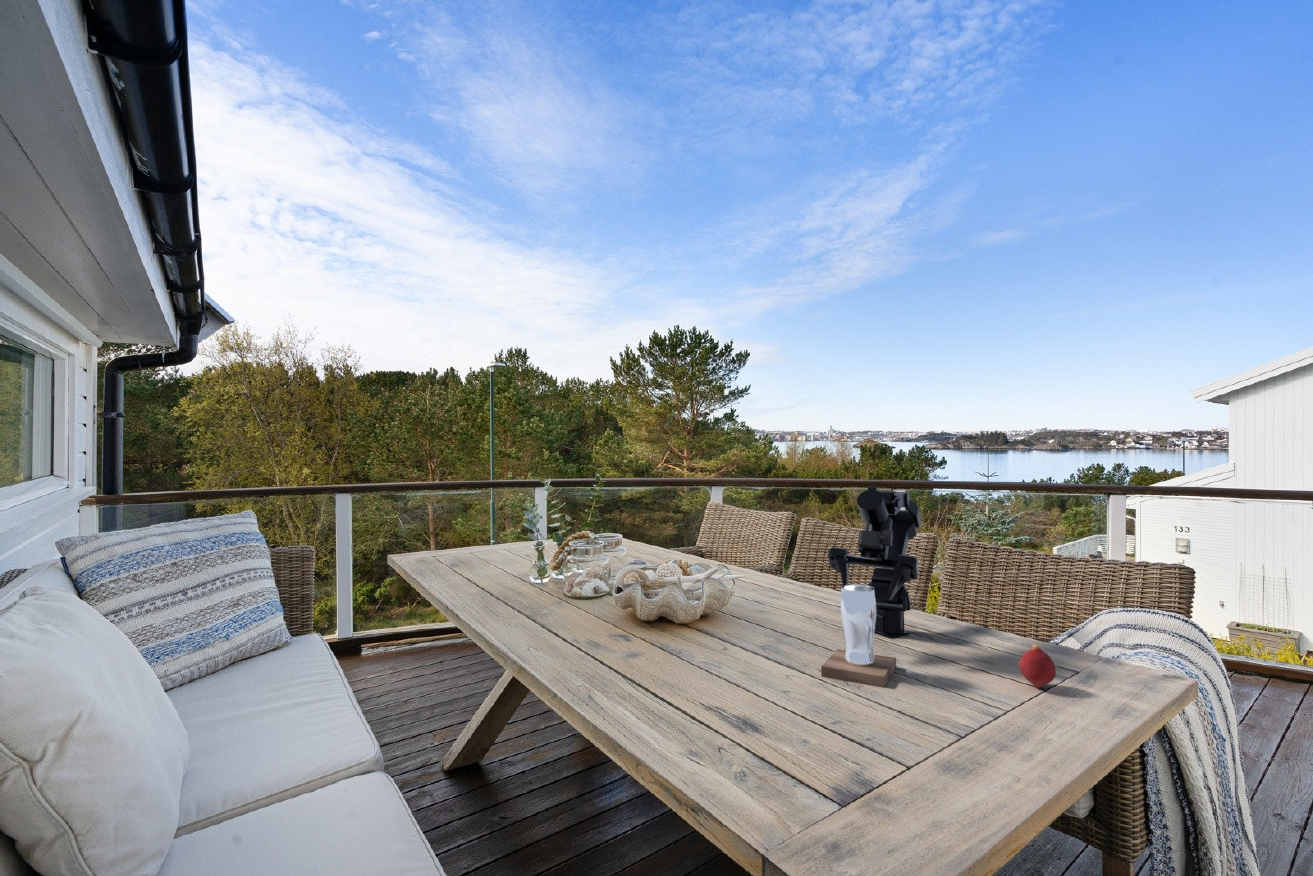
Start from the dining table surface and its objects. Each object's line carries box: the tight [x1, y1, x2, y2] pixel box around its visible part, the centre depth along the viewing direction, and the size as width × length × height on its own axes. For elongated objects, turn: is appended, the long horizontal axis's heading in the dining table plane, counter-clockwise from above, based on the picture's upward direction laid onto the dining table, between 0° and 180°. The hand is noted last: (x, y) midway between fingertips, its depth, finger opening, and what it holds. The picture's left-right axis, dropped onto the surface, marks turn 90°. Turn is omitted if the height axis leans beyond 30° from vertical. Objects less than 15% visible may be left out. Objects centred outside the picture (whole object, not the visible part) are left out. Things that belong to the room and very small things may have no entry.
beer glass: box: [840, 583, 876, 666], centre depth 127 cm, size 7×7×15 cm
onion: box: [1018, 644, 1057, 689], centre depth 116 cm, size 6×6×8 cm
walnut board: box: [821, 648, 897, 688], centre depth 126 cm, size 12×12×2 cm
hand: (866, 596), depth 134 cm, fingers open, 9 cm apart
